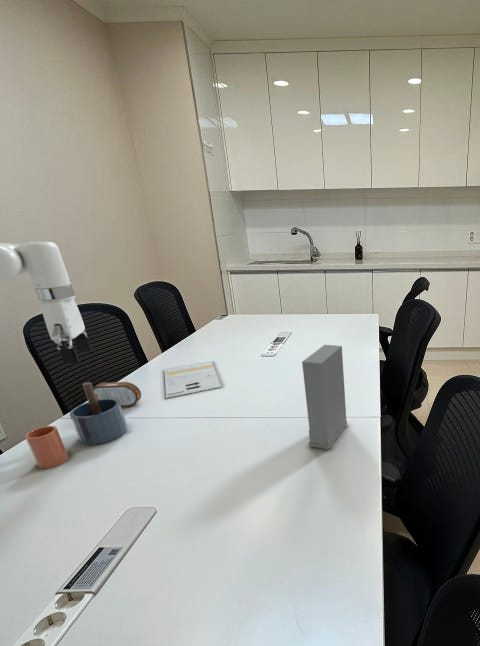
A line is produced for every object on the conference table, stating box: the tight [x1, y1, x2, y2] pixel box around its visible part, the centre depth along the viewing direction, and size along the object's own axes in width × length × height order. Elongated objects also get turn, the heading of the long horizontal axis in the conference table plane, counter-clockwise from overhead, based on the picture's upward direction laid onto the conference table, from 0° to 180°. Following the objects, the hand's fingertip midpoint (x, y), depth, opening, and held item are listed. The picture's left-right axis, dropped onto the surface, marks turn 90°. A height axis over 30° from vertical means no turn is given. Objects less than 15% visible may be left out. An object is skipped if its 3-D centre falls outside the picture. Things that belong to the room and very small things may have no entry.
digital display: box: [164, 361, 222, 399], centre depth 152 cm, size 18×1×30 cm
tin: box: [93, 381, 142, 408], centre depth 130 cm, size 15×3×8 cm, turn 94°
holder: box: [24, 425, 69, 469], centre depth 101 cm, size 6×6×9 cm
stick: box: [82, 381, 101, 415], centre depth 111 cm, size 2×2×16 cm
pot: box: [69, 398, 129, 446], centre depth 113 cm, size 12×12×9 cm
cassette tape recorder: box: [301, 344, 348, 451], centre depth 106 cm, size 14×6×25 cm, turn 162°
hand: (79, 356), depth 105 cm, fingers open, 9 cm apart
